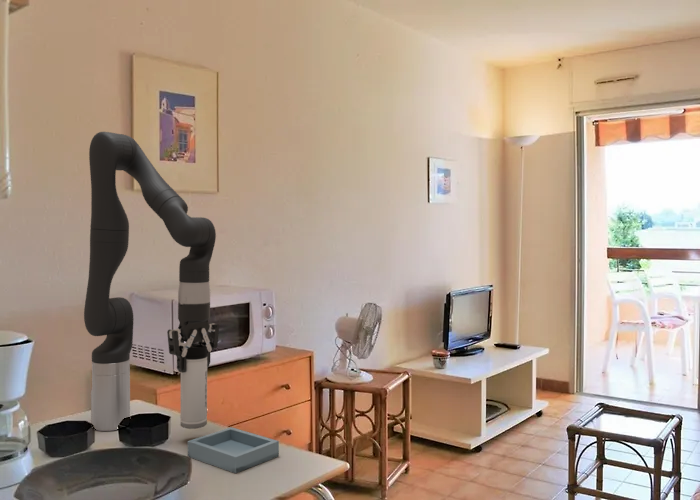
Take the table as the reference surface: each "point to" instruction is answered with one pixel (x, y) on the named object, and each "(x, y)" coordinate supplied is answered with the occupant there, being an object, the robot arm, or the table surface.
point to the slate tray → (233, 449)
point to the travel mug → (194, 388)
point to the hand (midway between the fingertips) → (193, 369)
